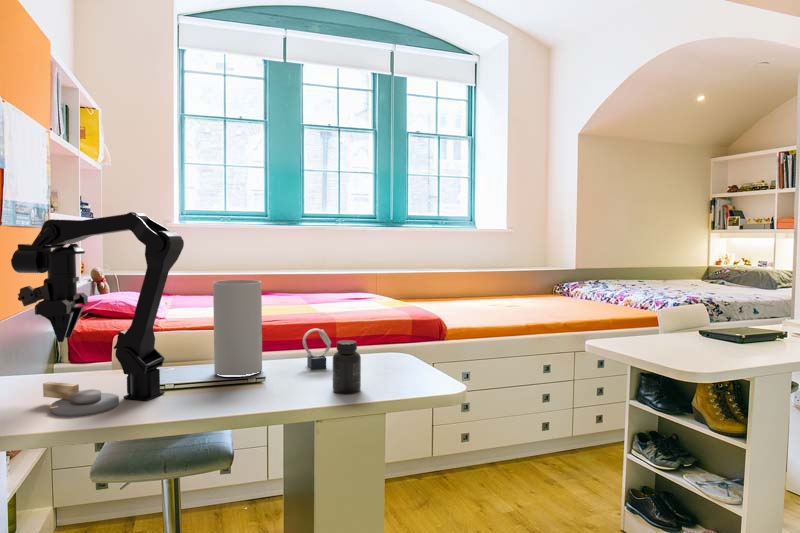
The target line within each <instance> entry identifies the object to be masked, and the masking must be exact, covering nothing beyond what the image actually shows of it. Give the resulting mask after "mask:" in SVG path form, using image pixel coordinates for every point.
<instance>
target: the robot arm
mask: <svg viewBox="0 0 800 533" xmlns="http://www.w3.org/2000/svg"><path fill="white" fill-rule="evenodd" d="M128 231H130V232H131V233H132V234H133V235H134V237H135V238H136V239H137V240H138V241H140V243H142V244H143V245H144V247H145V248H144V258H145V263H146V270H145V273H144V278H143V280H142V285H141V287H140V292H139V296H138V299H137V303H136V306H135V310H134V313H133V317H132V321H131V325H130V326H129V328H127V329H124V330H121V331H118V334H117V338H116V339H117V340H116V343H115V345H114V347H113V350H115V358H116V359H117V361H118V362H119V364H120V366H121V369H122V372H123V374H124V375H127V376H126V395H123V396H122V397H123V399H125V400H136V401H149V400H151V399H155V398H157V397H159V396H160V395H164V394H165V390H161V373H160V371H161V370H160V369H159V367H162V366H163V365H164V361H165V356H163V355H162V354H161V353H160V352H159V351H158V350H157V348H155V343H156V336H155V333H154V327H155V326H154V325H155V321H156V318H157V314H158V312H159V308H160V305H161V300H162V296H163V293H164V290H165V287H166V283H167V279H168V276H169V273H170V270H171V269H172V268H173V266H175V264H176V262H177V261H178V259H179V258H180V256H181V253H182V251H183V249H184V247H185V246H184V245H185V243H184V239H183V238H182V236H181V235H180V234H179V233H178V232H176V231H172V230H169V229H168V228H167V227H165V226H164V225H162V224H160V223H158V222H157V221H154V220H153V219H151V218H150V217H149V216H148V215H146V214H145V213H143V212H133V211H130V212H128V213H124V214H117V215H111V216H104V217H103V216H102V217H97V218H96V217H95V218H88V219H83V220H82V219H79V220H78V219H56V218H55V219H53V218H52V219H47V220H45V221H44V222H43V224H42V226H41V229H40V231H39V232H38V234H37V236H36V237H35V239H34V240H33V242H32V243H31V244H30V243H19V244H17V249H16V250H15V251H14V252H13V254H12V258H11V259H10V265H11V267H12V269H13V270H14V272H16V273H20V274H45V273H47V278H45V279H44V280H43V285H40V286H37V287H34V288H33V287H32V286H31V285H27V286H23V287H21V288H20V289H19V293H17V296H18V297H17V300H18V301H20V302H21V303H22V306H23V307H27V306H30V305H32V304H35V305H34V315H36V316H39V315H40V316H41V317H43V318H45V319H46V320H48V321H49V322H50V325H51V326H52V330H53V332H54V336H55V337H56V340H57V342H58V343H63V342H64V341H65V339H66V338H67V339H69V338H71V337H72V335H73V332H74V330H75V328H76V325H77V323H78V321H79V319H80V316H81V315H82V311H83V310H84V309H85V305H87V304H88V303H89V302H88V301H89V300H88V299H89V298H88V297H89V296H88V295H87V294H85V293H84V292H78V289H77V288H78V287H77V282H80V277H79V276H77V261H76V260H77V257H76V255H82V254H85V253H86V251H85V250H84V249H83V248H81V247H80V246H79V245H78V242H80V241H81V242H82V241H84V240H86V239H88V238H90V237H92V236H93V237H94V236H100V235H107V234H113V233H114V234H115V233H121V232H128ZM66 245H68V246H66ZM52 249H53V250H52ZM80 304H81V305H82V306H78V305H80Z"/></svg>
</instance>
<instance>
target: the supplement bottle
mask: <svg viewBox="0 0 800 533" xmlns="http://www.w3.org/2000/svg"><path fill="white" fill-rule="evenodd" d="M357 344H358V343H357V341H356V340H349V339H347V340H346V339H344V340H338V341H337V342H336V352H334V353H333V355H332V391H333V392H334V393H335V394H338V395H339V394H340V395H352V394H357V393H359V392H360V391H361V387H362V385H361V384H362V383H361V382H362V381H361V378H362V373H361V372H362V359H361V354H360V353H359V352H357V350H358V347H357V346H358V345H357Z"/></svg>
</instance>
